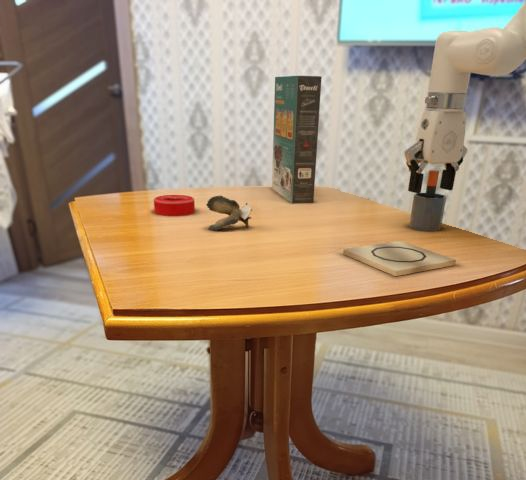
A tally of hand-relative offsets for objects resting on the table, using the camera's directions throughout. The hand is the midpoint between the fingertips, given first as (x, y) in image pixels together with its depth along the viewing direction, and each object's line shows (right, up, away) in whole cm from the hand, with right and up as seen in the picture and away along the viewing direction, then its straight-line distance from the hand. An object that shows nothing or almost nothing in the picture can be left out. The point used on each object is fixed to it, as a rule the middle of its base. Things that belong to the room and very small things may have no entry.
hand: (430, 190), depth 111 cm
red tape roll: (-58, -1, +13) cm, 59 cm away
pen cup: (0, -7, +4) cm, 8 cm away
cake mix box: (-28, +10, +35) cm, 46 cm away
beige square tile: (-12, -18, -19) cm, 29 cm away
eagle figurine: (-44, -8, 0) cm, 45 cm away
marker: (0, -7, +3) cm, 7 cm away
